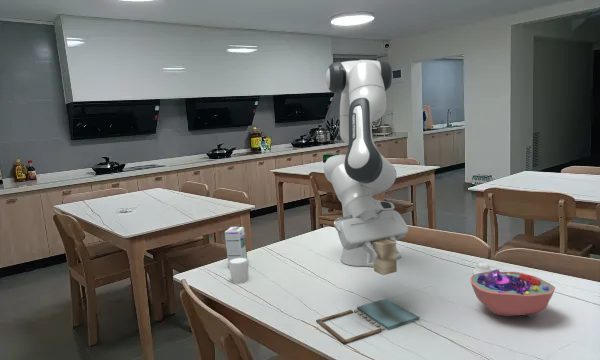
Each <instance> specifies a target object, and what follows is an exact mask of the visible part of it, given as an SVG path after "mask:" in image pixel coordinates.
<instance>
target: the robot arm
mask: <svg viewBox="0 0 600 360" xmlns="http://www.w3.org/2000/svg"><path fill="white" fill-rule="evenodd" d="M393 75H394V74H393V69H392V66H391V64H390V63H389V62H388V61H386V60H383V59H382V60H381V59H378V60H373V59H358V60H347V61H335V62H331V63H330V65H329V66H328V68H327V71H326V73H325V82H326V86H327V88H328V91H330V92H331V93H333V94H336V95H341V96H340V103H339V135H340V138H341V140H342V141H343V143H346V144H347V145H348V146H347V150H346V154H337V155H332V156H330V157H328V158H327V159H326V161H325V162H324V165H323V174H324V176H325V179H326V180H327V181H328V182H329V183H331V185H332V188H333V190H334V193H335V194H336V197H337V200H338V201H340V203H341V207H342V208H341V209H342V217H337V218H336V219H334V222H333V225H334V228H335V230H336V231H337V235H338V238H339V241H340V244H341V247H342V253H341V257H340V261H341V262H342V263H343V264H345V265H347V266H353V267H354V266H355V267H373V268H374V260H375V259H379V257H380V254H379V252H378V250H376V251H375V250H374V249H373V242H375V241H380V240H385V239H388V240H390V241H393V242H396V243H397V240H402V239H404V238H405V237H406V236H407V235H408V233H409V226H408V225H407V223H406V221H405V220H404V218H403V216H402V215H401V214H400V212H398V211H397V210H395V205H394V203H393V202H391V201H385V200H379V199H375V198H374V197H376V196H378V195H381V194H383V193H384V192H386V191H388V190H389V189H391V188H392V187H393V185H394V184H395V182H396V180H397V170H396V167H395V166H394V165H393V164H392V163H391V162H390V161H389V160H388V159H387V158H386V157H385V156H383V155H382V154H381V152H380V151H379V150H378V148H377V146H376V143H375V142H374V137H373V130H372V129H373V126H372V122H375V121H377V120H380V118H381V117H382V116H383V115H384V114H385V113H386V111H387V95H386V94H387V93H386V91H388V90H389V89H390V87H391V86H392V82H393V79H394V76H393ZM400 258H402V253H401V252H400V251H399V250H398V248H397V247H396V260H398V259H400Z"/></svg>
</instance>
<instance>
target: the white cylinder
mask: <svg viewBox="0 0 600 360" xmlns="http://www.w3.org/2000/svg"><path fill="white" fill-rule="evenodd" d="M228 263H229V266H228V269H229V272H230V277H231V282H232V283H235V284H241V283H246V282H247V281H249V258H248V257H247V258H244V257H239V258H233V259H231V260H229V261H228V260H227V264H228Z"/></svg>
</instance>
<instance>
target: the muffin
mask: <svg viewBox="0 0 600 360" xmlns="http://www.w3.org/2000/svg"><path fill="white" fill-rule="evenodd" d="M490 271H493V270H492V269H491V268H490V265H489V263H486V262H478V263H477V264H476V267H475V268H474V269H473V270H472V272H471V274H472V276H473V275H475V274H478V273H483V272H490Z"/></svg>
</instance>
